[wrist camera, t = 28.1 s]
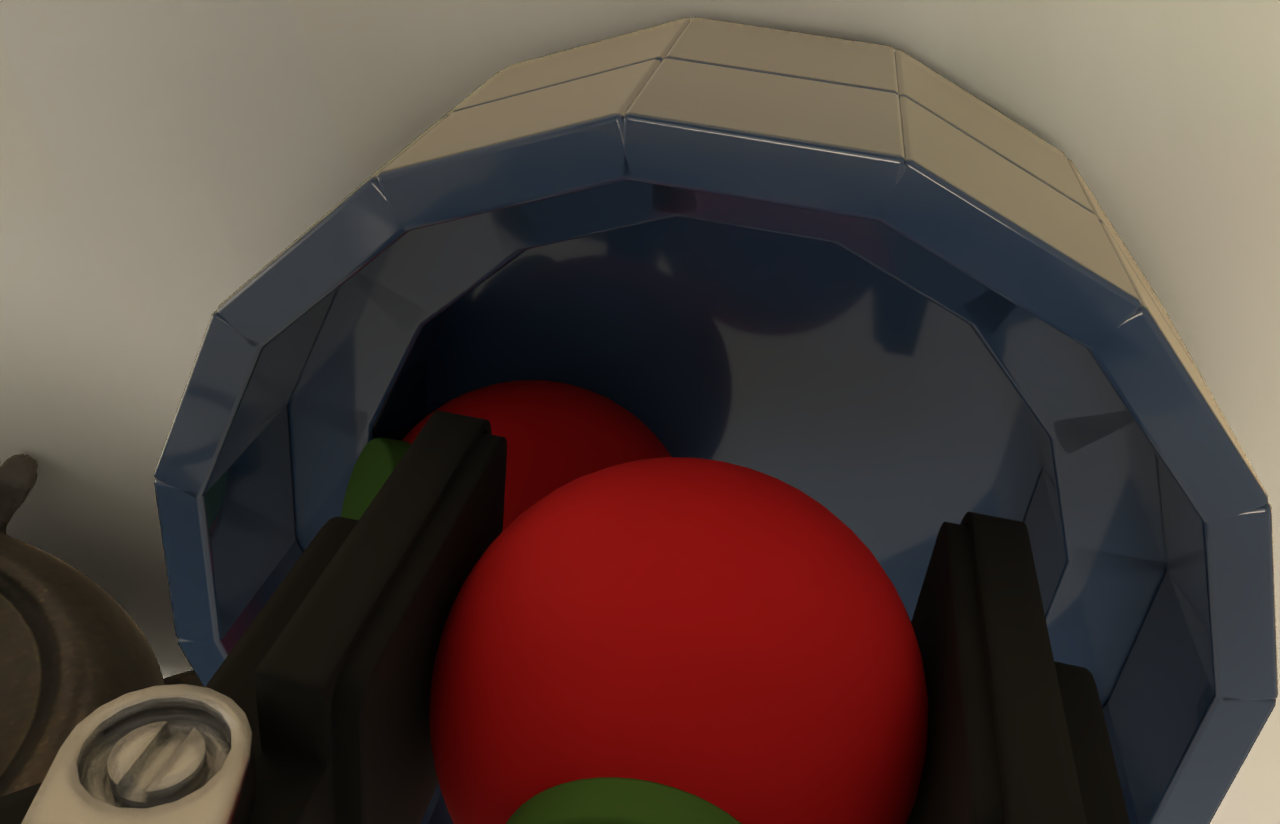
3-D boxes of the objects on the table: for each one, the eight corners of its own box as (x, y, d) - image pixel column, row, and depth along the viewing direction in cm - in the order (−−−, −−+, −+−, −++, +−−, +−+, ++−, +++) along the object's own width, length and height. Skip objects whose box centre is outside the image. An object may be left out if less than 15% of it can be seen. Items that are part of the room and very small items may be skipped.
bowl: (346, 657, 20) (210, 892, 16) (320, -49, 14) (85, 27, 10) (1019, 799, 19) (1062, 1092, 15) (1312, 97, 13) (1528, 255, 9)
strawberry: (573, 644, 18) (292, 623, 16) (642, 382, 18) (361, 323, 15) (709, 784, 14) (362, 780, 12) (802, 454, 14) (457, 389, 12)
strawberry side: (500, 664, 13) (348, 1025, 9) (520, 337, 11) (330, 636, 7) (869, 743, 13) (866, 1157, 9) (968, 418, 11) (1019, 783, 7)
